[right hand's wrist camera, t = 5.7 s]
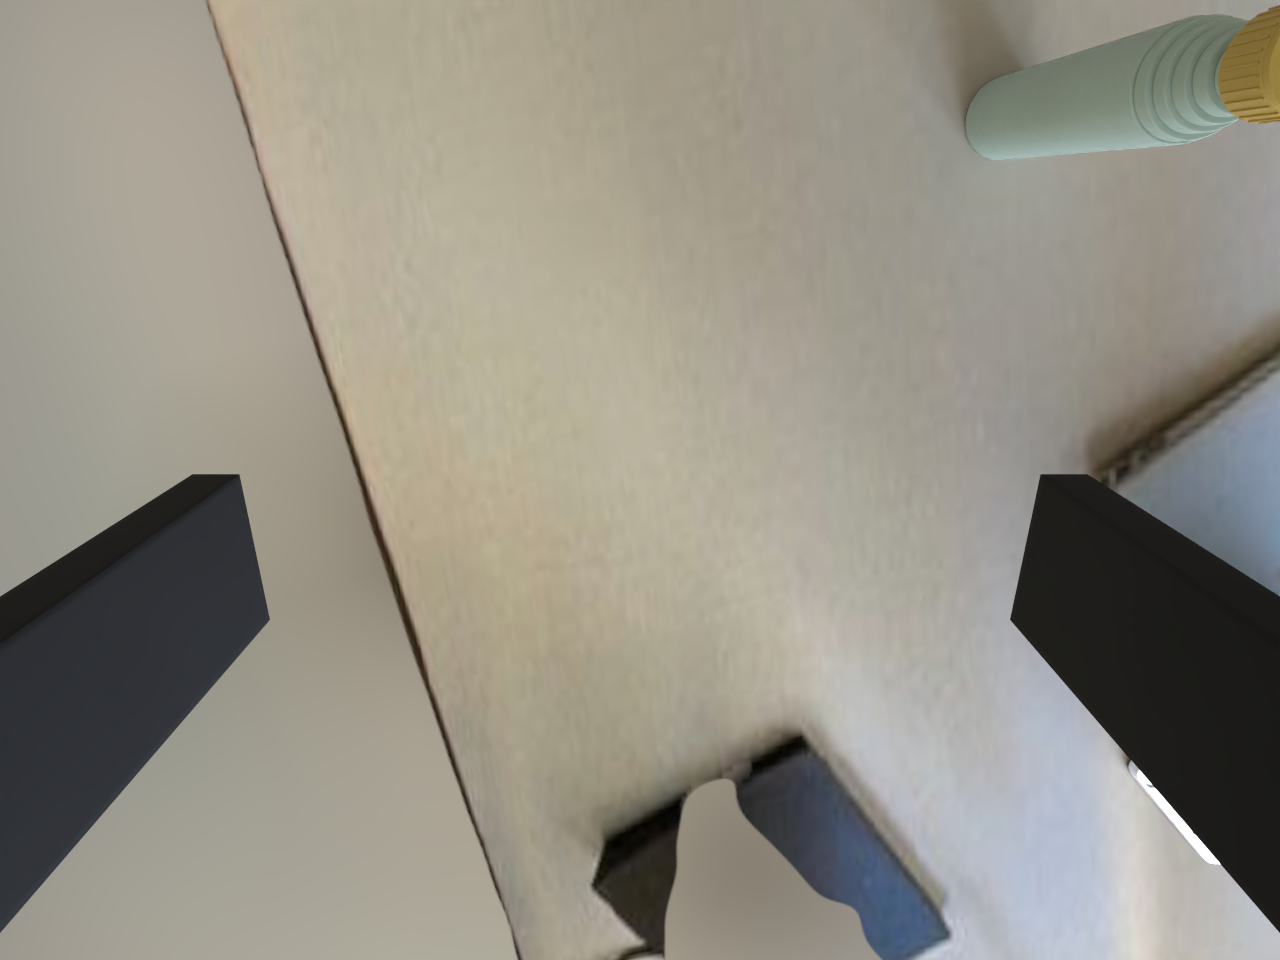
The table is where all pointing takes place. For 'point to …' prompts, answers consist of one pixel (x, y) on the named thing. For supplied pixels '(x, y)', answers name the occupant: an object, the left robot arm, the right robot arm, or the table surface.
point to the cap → (1253, 70)
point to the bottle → (1110, 95)
